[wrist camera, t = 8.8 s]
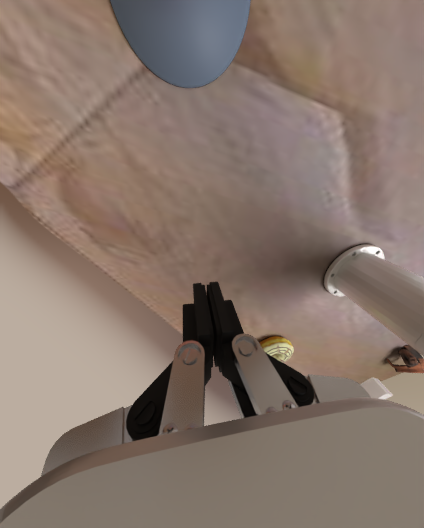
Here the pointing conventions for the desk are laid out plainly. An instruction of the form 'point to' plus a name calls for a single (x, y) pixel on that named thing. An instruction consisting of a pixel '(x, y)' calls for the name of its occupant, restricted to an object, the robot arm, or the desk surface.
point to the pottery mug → (410, 361)
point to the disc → (184, 36)
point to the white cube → (376, 389)
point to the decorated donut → (277, 348)
